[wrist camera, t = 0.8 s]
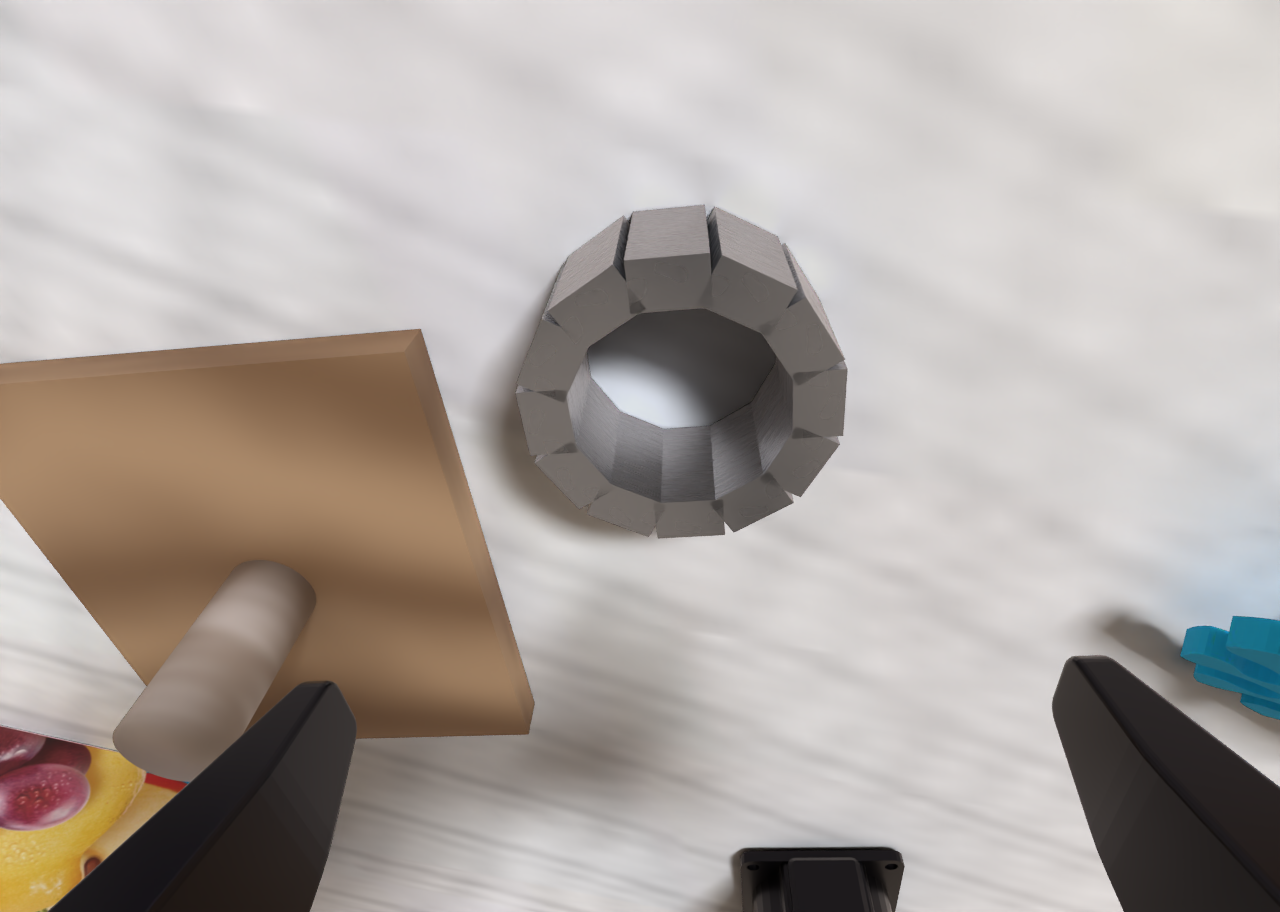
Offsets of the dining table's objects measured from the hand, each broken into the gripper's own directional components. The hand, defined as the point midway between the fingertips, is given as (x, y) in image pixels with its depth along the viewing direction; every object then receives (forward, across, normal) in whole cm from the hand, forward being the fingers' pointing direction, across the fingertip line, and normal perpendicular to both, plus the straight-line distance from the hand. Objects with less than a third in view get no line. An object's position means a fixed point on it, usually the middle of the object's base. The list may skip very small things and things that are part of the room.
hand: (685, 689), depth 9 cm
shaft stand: (+9, +12, +6) cm, 16 cm away
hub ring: (+9, 0, 0) cm, 9 cm away
